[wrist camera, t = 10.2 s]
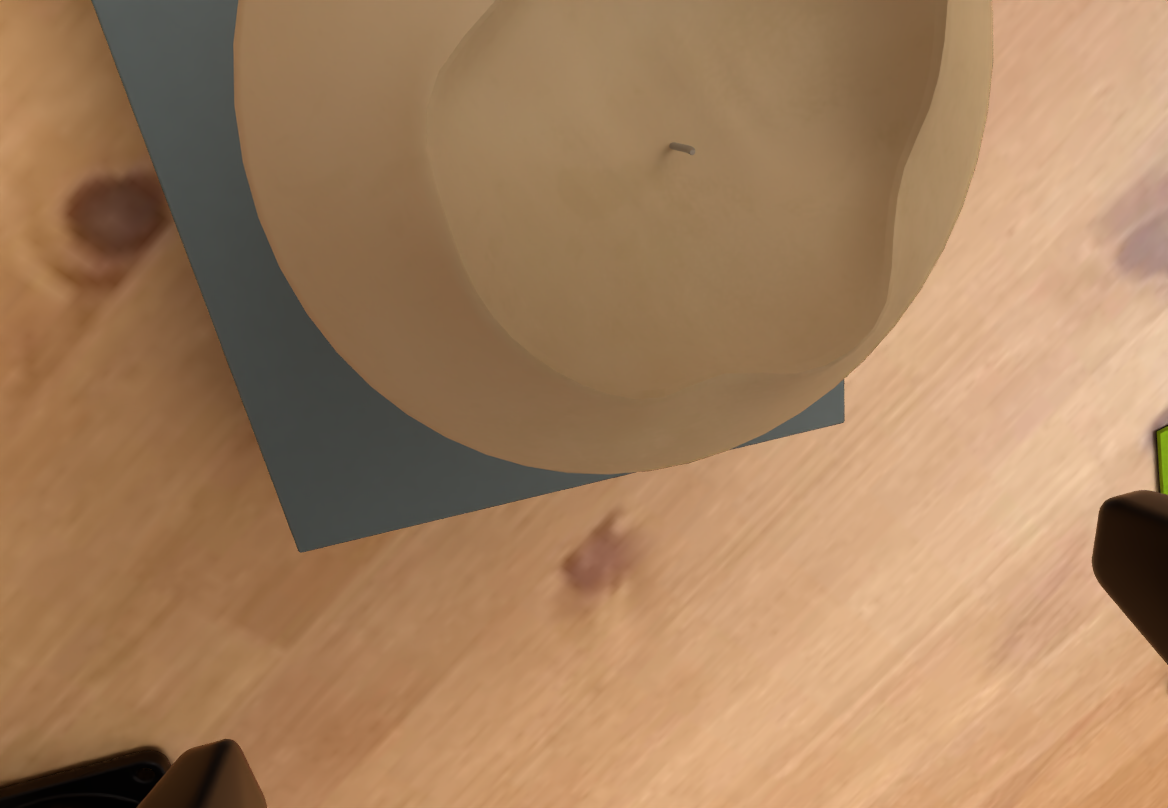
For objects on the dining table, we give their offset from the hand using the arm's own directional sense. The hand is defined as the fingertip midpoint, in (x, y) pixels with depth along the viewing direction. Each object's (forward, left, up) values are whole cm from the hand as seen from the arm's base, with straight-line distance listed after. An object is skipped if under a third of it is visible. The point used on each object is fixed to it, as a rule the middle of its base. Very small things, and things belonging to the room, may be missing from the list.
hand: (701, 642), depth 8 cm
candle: (0, +5, -9) cm, 10 cm away
